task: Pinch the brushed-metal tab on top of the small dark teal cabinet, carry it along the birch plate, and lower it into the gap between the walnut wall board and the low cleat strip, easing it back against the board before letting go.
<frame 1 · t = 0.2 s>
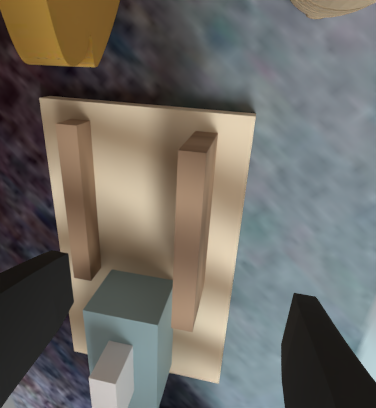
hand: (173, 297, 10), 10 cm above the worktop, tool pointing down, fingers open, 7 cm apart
cleat board: (147, 254, 22), on the worktop
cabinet: (143, 319, 23), point 1 cm above the worktop, touching cleat board
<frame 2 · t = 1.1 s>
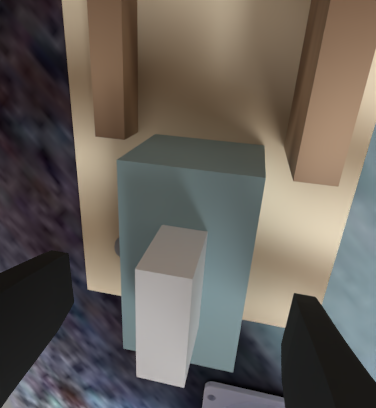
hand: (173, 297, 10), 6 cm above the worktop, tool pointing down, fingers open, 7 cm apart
cleat board: (213, 111, 13), on the worktop
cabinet: (200, 226, 15), point 1 cm above the worktop, touching cleat board
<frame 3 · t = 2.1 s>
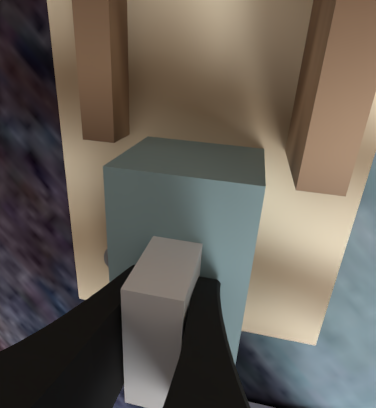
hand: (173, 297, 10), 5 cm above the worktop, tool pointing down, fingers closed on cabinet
cleat board: (210, 111, 13), on the worktop
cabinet: (197, 233, 14), point 1 cm above the worktop, touching cleat board, gripper
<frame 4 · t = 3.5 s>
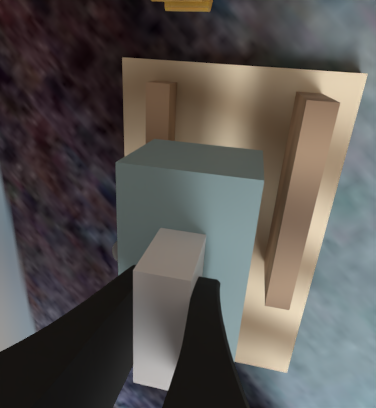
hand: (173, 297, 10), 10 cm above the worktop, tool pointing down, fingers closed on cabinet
cleat board: (219, 232, 21), on the worktop
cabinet: (199, 231, 15), point 6 cm above the worktop, touching gripper
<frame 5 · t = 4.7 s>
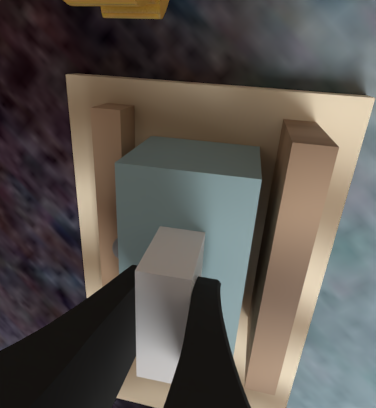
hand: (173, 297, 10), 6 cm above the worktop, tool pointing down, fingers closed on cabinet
cleat board: (195, 279, 17), on the worktop
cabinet: (197, 226, 15), point 1 cm above the worktop, touching cleat board, gripper
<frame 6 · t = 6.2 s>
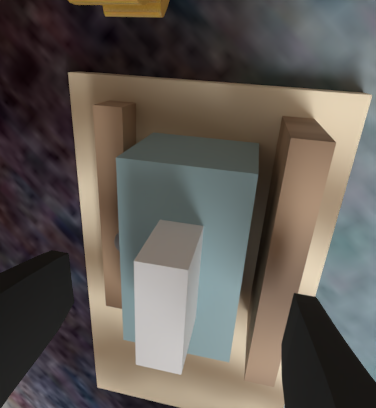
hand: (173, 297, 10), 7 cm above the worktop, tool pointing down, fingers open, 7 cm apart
cleat board: (195, 274, 18), on the worktop
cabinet: (198, 221, 15), point 1 cm above the worktop, touching cleat board
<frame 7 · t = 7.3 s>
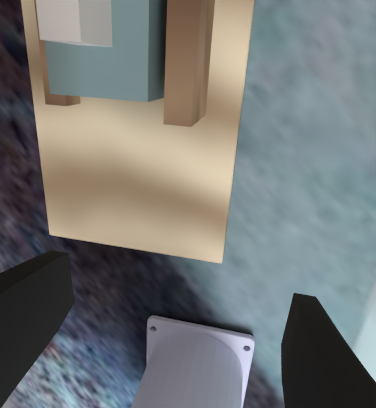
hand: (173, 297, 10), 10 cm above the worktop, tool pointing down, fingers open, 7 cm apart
cleat board: (136, 88, 18), on the worktop
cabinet: (130, 6, 16), point 1 cm above the worktop, touching cleat board
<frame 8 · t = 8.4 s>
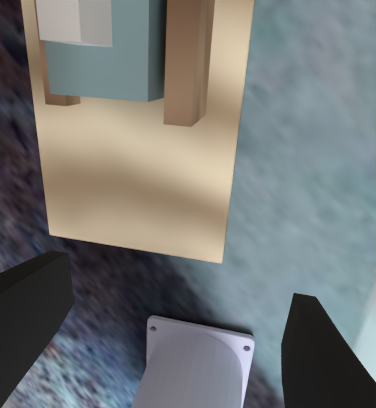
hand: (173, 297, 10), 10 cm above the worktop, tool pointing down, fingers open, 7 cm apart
cleat board: (136, 88, 18), on the worktop
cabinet: (130, 6, 16), point 1 cm above the worktop, touching cleat board
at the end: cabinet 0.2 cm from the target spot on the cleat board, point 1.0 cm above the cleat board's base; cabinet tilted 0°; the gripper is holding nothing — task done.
